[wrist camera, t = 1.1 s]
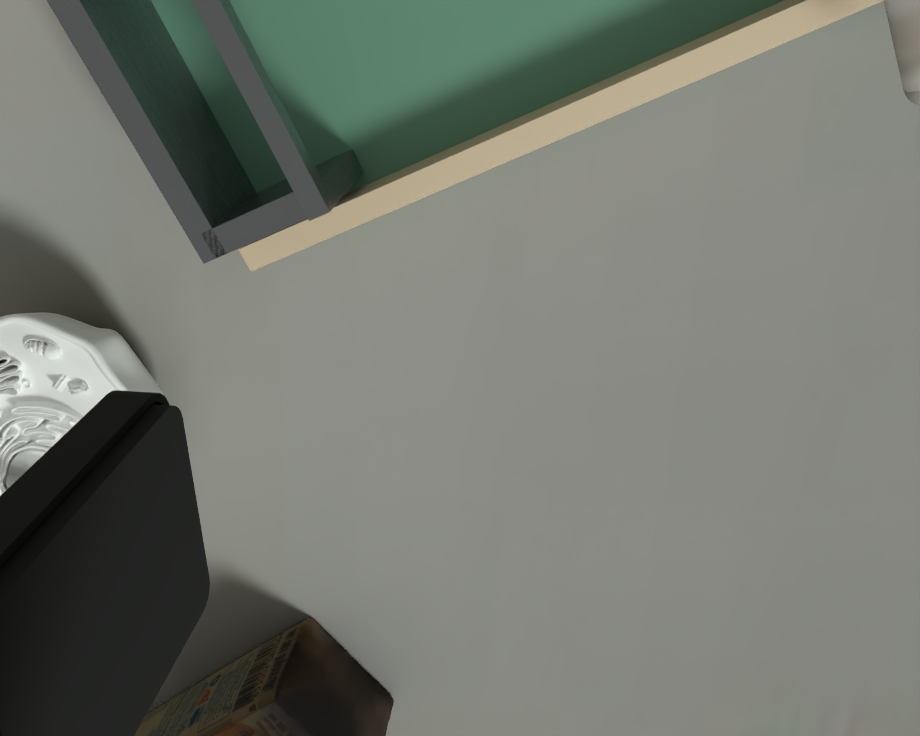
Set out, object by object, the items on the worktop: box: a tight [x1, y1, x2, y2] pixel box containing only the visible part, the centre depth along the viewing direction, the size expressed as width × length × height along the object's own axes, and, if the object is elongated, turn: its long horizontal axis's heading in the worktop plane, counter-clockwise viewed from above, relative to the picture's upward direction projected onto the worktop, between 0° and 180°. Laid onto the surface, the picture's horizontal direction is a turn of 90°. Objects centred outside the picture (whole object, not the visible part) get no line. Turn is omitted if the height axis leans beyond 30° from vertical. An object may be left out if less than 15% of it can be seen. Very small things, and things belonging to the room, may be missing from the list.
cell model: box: [0, 312, 164, 496], centre depth 38 cm, size 10×12×7 cm
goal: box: [47, 0, 364, 263], centre depth 29 cm, size 6×11×6 cm, turn 24°
